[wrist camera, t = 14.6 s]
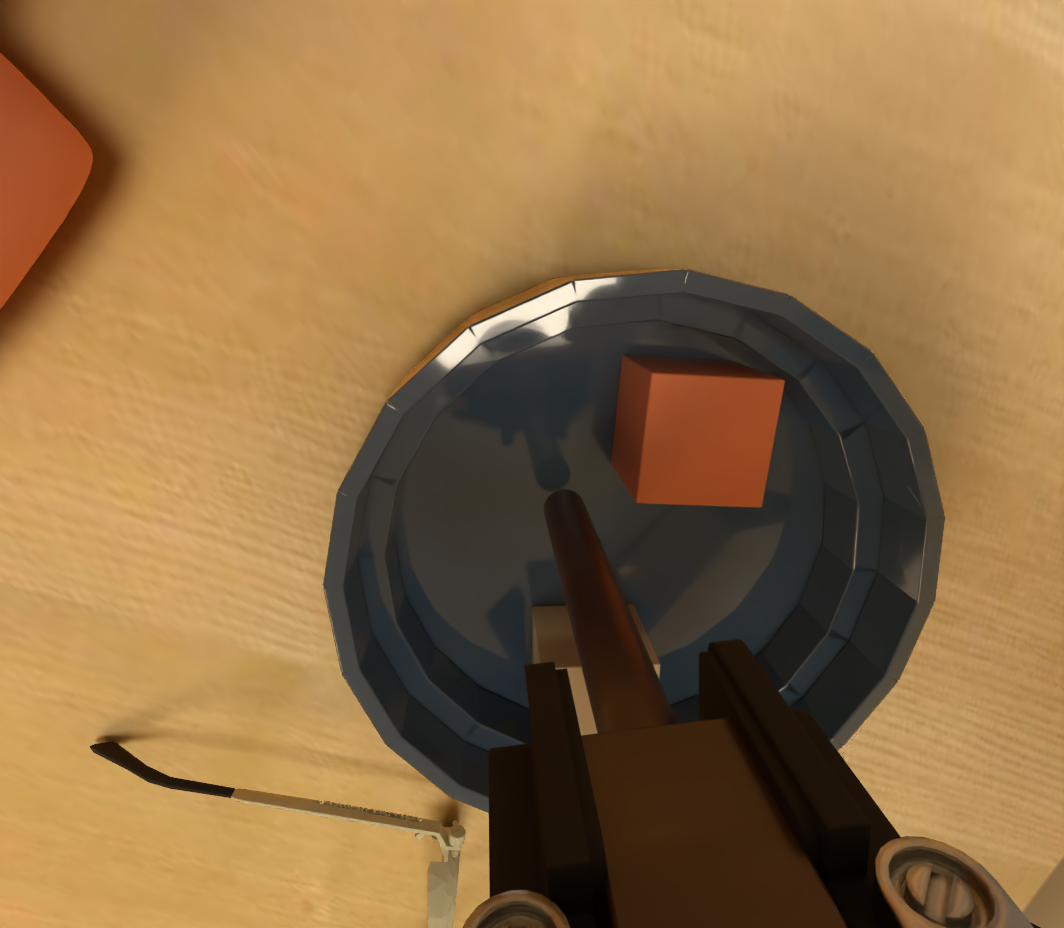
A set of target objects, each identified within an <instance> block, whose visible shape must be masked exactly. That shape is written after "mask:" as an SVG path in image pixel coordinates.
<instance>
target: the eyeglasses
mask: <svg viewBox="0 0 1064 928" xmlns="http://www.w3.org/2000/svg"><path fill="white" fill-rule="evenodd" d="M90 748H91V749H92V751H93V752H94V753H96V754H98V755H100V756H102V757H104V758H106V759H107V760H109V761H111V762H113V763H115V764H117V765H119V766H121V767H123V768H125V769H127V770H129V771H131V772H132V773H134V774H136V775H137V776H139V777H141V778H142V779H144V780H146V781H147V782H150V783H153V784H157V785H160V786H163V787H167V788H171V789H177V790H183V791H190V792H196V793H203V794H209V795H215V796H222V797H228V798H233V799H234V800H236V801H238V802H243V803H249V804H255V805H261V806H266V807H272V808H278V809H283V810H289V811H295V812H300V813H306V814H312V815H318V816H323V817H329V818H335V819H340V820H346V821H352V822H358V823H363V824H369V825H375V826H380V827H386V828H392V829H398V830H403V831H409V832H414V833H415V838H416V839H418V840H420V838H421V837H423V836H425V835H432V837H433V840H434V841H439V843H440V849H441V855H444V859H443V862H430V865H429V869H428V894H427V918H428V928H453V922H454V913H455V904H456V893H457V883H458V871H459V857H460V849H461V845H462V844H463V843H464V839H465V834H466V832H465V829H464V827H463V826H461V825H458V821H456V820H455V821H453V823H452V827H443V826H442V824H441V822H439V821H434V820H428V819H422V818H418V817H412V816H409V815H408V817H407V816H406V815H403V816H401V814H400V815H398V814H394V813H391V812H390V813H387V812H385V811H379V810H376V811H374V810H373V809H371V810H368V809H367V808H365V809H363V808H362V807H358V806H354V807H351V805H349V807H348V806H347V805H348V804H347V805H344V804H343V805H342V804H341V805H340V804H335V803H334V802H332V803H333V804H332V803H330V801H328V802H327V801H326V802H325V801H324V804H319V803H322V801H318V800H311V799H305V798H298V797H292V796H285V795H279V794H272V793H266V792H259V791H253V790H246V789H235V788H230V787H224V786H218V785H213V784H207V783H201V782H196V781H190V780H184V779H179V778H173V777H169V776H167V775H165V774H163V773H161V772H159V771H157V770H155V769H153V768H151V767H148V766H146V765H145V764H144V763H142V762H141V761H140V760H138V759H137V758H136V757H134V756H133V755H132V754H130V753H129V752H128V751H126V750H125V749H124V748H122V747H121V746H120V745H118V744H117V743H115V742H113V741H112V742H106V743H99V744H94V745H92V746H90ZM388 816H389V817H388ZM393 816H394V817H393ZM406 819H407V820H406ZM419 819H422V822H420V821H419ZM412 820H413V821H412ZM419 822H420V823H419Z"/></svg>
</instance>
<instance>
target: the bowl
mask: <svg viewBox="0 0 1064 928" xmlns="http://www.w3.org/2000/svg"><path fill="white" fill-rule="evenodd" d="M623 355H637V356H655V357H672V358H689V359H707V360H724V361H734V362H737V363H740V364H742V365H745V366H748V367H750V368H753V369H756V370H759V371H761V372H764V373H767V374H770V375H772V376H775V377H778V378H781V379H783V380H785V384H784V389H783V395H782V400H781V406H780V411H779V417H778V422H777V427H776V433H775V438H774V444H773V449H772V455H771V460H770V465H769V471H768V476H767V482H766V487H765V493H764V498H763V503H762V507H760V508H758V507H730V506H703V505H676V504H648V503H636V502H635V500H634V499H633V497H632V496H631V494H630V493H629V491H628V490H627V488H626V487H625V485H624V483H623V482H622V480H621V479H620V477H619V476H618V474H617V473H616V471H615V470H614V468H613V467H612V465H611V458H612V448H613V439H614V430H615V420H616V411H617V402H618V392H619V383H620V374H621V364H622V356H623ZM562 489H568V490H572V491H574V492H576V493H578V494H579V495H580V496H581V498H582V499H583V502H584V504H585V506H586V509H587V511H588V513H589V516H590V518H591V520H592V523H593V525H594V527H595V530H596V532H597V534H598V537H599V539H600V541H601V544H602V546H603V548H604V551H605V553H606V555H607V558H608V560H609V563H610V565H611V567H612V570H613V572H614V574H615V577H616V579H617V581H618V584H619V586H620V588H621V591H622V593H623V595H624V598H625V600H626V602H627V604H634V606H635V609H636V611H637V613H638V615H639V618H640V620H641V622H642V624H643V627H644V629H645V631H646V633H647V635H648V638H649V640H650V642H651V644H652V647H653V649H654V651H655V653H656V656H657V658H658V660H659V662H660V677H659V680H660V682H661V685H662V687H663V689H664V692H665V694H666V696H667V699H668V701H669V703H670V706H671V708H672V710H673V713H674V715H675V717H676V720H677V722H678V723H684V722H692V721H699V653H700V652H705V651H708V645H709V643H711V642H718V641H727V640H735V639H741V640H742V641H743V642H744V643H745V644H746V645H747V647H748V648H749V650H750V651H751V653H752V654H753V655H754V657H755V658H756V660H757V661H758V663H759V664H760V665H761V667H762V668H763V670H764V671H765V673H766V674H767V675H768V677H769V678H770V680H771V681H772V683H773V684H774V685H775V687H776V688H777V690H778V691H779V693H780V694H781V696H782V697H783V698H784V700H785V701H786V703H787V704H788V706H789V707H790V708H791V710H798V709H803V710H805V711H807V712H808V713H809V714H810V715H811V716H812V717H813V719H814V720H815V721H816V723H817V724H818V725H819V727H820V728H821V729H822V731H823V732H824V734H825V735H826V736H827V738H828V739H829V740H830V742H831V743H832V744H833V746H834V747H835V749H836V750H837V751H838V750H839V749H840V748H842V746H844V745H845V744H846V743H847V741H848V740H849V739H850V738H851V737H852V736H853V734H854V733H855V732H856V731H857V730H858V728H859V727H860V726H861V725H862V724H863V723H864V721H865V720H866V719H867V718H868V717H869V715H870V714H871V713H872V712H873V711H874V710H875V708H876V707H877V706H878V705H879V704H880V702H881V701H882V700H883V699H884V698H885V697H886V695H887V694H888V693H889V692H890V691H891V689H892V688H893V687H894V686H895V685H896V684H897V682H898V680H899V679H900V677H901V675H902V673H903V671H904V668H905V666H906V664H907V662H908V660H909V657H910V655H911V653H912V651H913V649H914V646H915V644H916V642H917V640H918V638H919V635H920V633H921V631H922V629H923V627H924V624H925V622H926V620H927V618H928V616H929V613H930V611H931V609H932V607H933V605H934V603H933V602H935V597H936V589H937V580H938V572H939V563H940V555H941V546H942V538H943V530H944V521H945V516H944V511H943V506H942V502H941V498H940V493H939V489H938V485H937V480H936V476H935V471H934V467H933V463H932V458H931V454H930V450H929V445H928V441H927V436H926V432H925V430H924V427H923V426H922V424H921V423H920V421H919V420H918V418H917V417H916V415H915V414H914V412H913V411H912V409H911V408H910V406H909V405H908V404H907V402H906V401H905V399H904V398H903V396H902V395H901V393H900V392H899V390H898V389H897V387H896V386H895V384H894V383H893V381H892V380H891V378H890V377H889V375H888V374H887V372H886V371H885V369H884V368H883V367H882V365H881V364H880V362H879V361H878V359H877V358H876V356H875V355H874V353H872V352H871V350H870V349H868V348H867V347H865V346H864V345H862V344H861V343H859V342H858V341H856V340H855V339H854V338H852V337H851V336H849V335H848V334H846V333H845V332H843V331H842V330H840V329H839V328H838V327H836V326H835V325H833V324H832V323H830V322H829V321H827V320H826V319H825V318H823V317H822V316H820V315H819V314H817V313H816V312H814V311H813V310H811V309H810V308H809V307H807V306H806V305H804V304H803V303H801V302H800V301H798V300H797V299H796V298H794V297H793V296H789V295H788V294H785V293H781V292H777V291H773V290H769V289H765V288H761V287H757V286H753V285H749V284H745V283H741V282H737V281H733V280H729V279H725V278H721V277H717V276H713V275H709V274H705V273H701V272H697V271H693V270H689V269H641V270H630V271H620V272H609V273H598V274H588V275H577V276H566V277H557V278H553V279H551V280H549V281H546V282H544V283H542V284H540V285H537V286H535V287H533V288H531V289H528V290H526V291H524V292H522V293H519V294H517V295H515V296H513V297H510V298H508V299H506V300H504V301H502V302H499V303H497V304H495V305H493V306H490V307H488V308H486V309H484V310H481V311H479V312H477V313H475V314H473V315H472V317H469V318H467V319H466V320H465V321H464V322H463V323H462V324H461V325H460V326H459V327H458V328H457V329H455V330H454V331H453V332H452V333H451V334H450V335H449V336H448V337H447V338H446V339H445V340H443V341H442V342H441V343H440V344H439V345H438V346H437V347H436V348H435V349H434V350H433V351H431V352H430V353H429V354H428V355H427V356H426V357H425V358H424V359H423V360H422V361H421V362H420V363H418V364H417V365H416V366H415V367H414V368H413V369H412V370H411V371H410V372H409V373H408V374H407V375H406V376H405V377H404V378H403V380H402V381H401V382H400V384H399V385H398V386H397V388H396V389H395V390H394V392H393V393H392V394H391V396H390V397H389V398H388V400H387V401H386V403H385V404H384V406H383V408H382V410H381V412H380V413H379V415H378V417H377V419H376V421H375V423H374V424H373V426H372V428H371V430H370V432H369V434H368V436H367V437H366V439H365V441H364V443H363V445H362V447H361V448H360V450H359V452H358V454H357V456H356V458H355V460H354V461H353V463H352V465H351V467H350V469H349V471H348V472H347V474H346V476H345V478H344V480H343V482H342V484H341V485H340V487H339V489H338V492H337V495H336V501H335V508H334V515H333V521H332V528H331V535H330V542H329V548H328V555H327V562H326V568H325V575H324V582H323V586H324V588H323V589H324V593H325V598H326V603H327V608H328V612H329V617H330V622H331V626H332V631H333V636H334V641H335V645H336V650H337V655H338V660H339V664H340V669H341V672H342V675H343V677H344V679H345V680H346V682H347V683H348V685H349V687H350V688H351V690H352V691H353V693H354V695H355V696H356V698H357V699H358V701H359V703H360V704H361V706H362V707H363V709H364V711H365V712H366V714H367V715H368V717H369V719H370V720H371V722H372V723H373V725H374V727H375V728H376V730H377V731H378V733H379V735H380V736H381V738H382V739H383V741H384V743H385V744H386V745H387V746H388V747H389V748H390V749H392V750H393V751H394V752H395V753H396V754H398V755H399V756H400V757H401V758H403V759H404V760H405V761H406V762H408V763H409V764H410V765H411V766H412V767H414V768H415V769H416V770H417V771H419V772H420V773H421V774H422V775H423V776H425V777H426V778H427V779H428V780H430V781H431V782H432V783H433V784H435V785H436V786H437V787H438V788H439V789H441V790H442V791H443V792H444V793H446V794H447V795H448V796H449V797H452V798H453V799H456V800H458V801H461V802H463V803H466V804H468V805H470V806H473V807H475V808H478V809H480V810H483V811H485V812H488V813H489V767H488V754H489V748H497V747H505V746H513V745H521V744H529V743H533V742H532V732H531V722H530V713H529V703H528V694H527V684H526V674H525V665H528V664H531V650H532V607H534V606H566V602H565V598H564V594H563V590H562V586H561V581H560V577H559V573H558V569H557V565H556V561H555V557H554V553H553V549H552V545H551V540H550V536H549V532H548V528H547V524H546V520H545V516H544V503H545V501H546V499H547V498H548V497H549V496H550V495H551V494H552V493H554V492H555V491H558V490H562Z"/></svg>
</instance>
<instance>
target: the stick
mask: <svg viewBox="0 0 1064 928" xmlns="http://www.w3.org/2000/svg"><path fill="white" fill-rule="evenodd" d="M544 516H545V520H546V524H547V528H548V532H549V536H550V540H551V545H552V549H553V553H554V557H555V561H556V565H557V569H558V573H559V577H560V581H561V586H562V590H563V594H564V598H565V602H566V606H567V610H568V614H569V618H570V622H571V627H572V631H573V635H574V639H575V643H576V647H577V651H578V655H579V659H580V663H581V668H582V672H583V676H584V680H585V684H586V688H587V692H588V696H589V700H590V705H591V709H592V713H593V717H594V721H595V725H596V729H597V733H596V734H588V735H581V737H582V742H583V746H584V751H585V756H586V761H587V766H588V770H589V775H590V780H591V785H592V789H593V794H594V799H595V804H596V808H597V813H598V818H599V823H600V827H601V832H602V837H603V842H604V848H605V854H606V861H607V869H608V879H606V881H605V883H604V884H605V898H606V912H607V926H608V928H848V926H847V925H846V923H845V921H844V919H843V917H842V915H841V914H840V912H839V910H838V908H837V906H836V905H835V903H834V901H833V899H832V897H831V896H830V894H829V892H828V890H827V888H826V886H825V885H824V883H823V881H822V879H821V877H820V876H819V874H818V872H817V870H816V868H815V867H814V865H813V863H812V861H811V859H810V858H809V856H808V854H807V852H804V851H803V849H802V847H801V846H800V844H799V842H798V840H797V838H796V837H795V835H794V833H793V831H792V829H791V827H790V826H789V824H788V822H787V820H786V818H785V816H784V815H783V813H782V811H781V809H780V807H779V806H778V804H777V802H776V800H775V798H774V796H773V795H772V793H771V791H770V789H769V787H768V785H767V784H766V782H765V780H764V778H763V776H762V774H761V773H760V771H759V769H758V767H757V765H756V764H755V762H754V760H753V758H752V756H751V754H750V753H749V751H748V749H747V747H746V745H745V743H744V742H743V740H742V738H741V736H740V734H739V733H738V731H737V729H736V727H735V725H734V723H733V722H732V720H731V718H730V717H724V718H716V719H708V720H700V721H692V722H684V723H678V722H677V720H676V717H675V715H674V713H673V710H672V708H671V706H670V703H669V701H668V699H667V696H666V694H665V692H664V689H663V687H662V685H661V682H660V680H659V678H658V675H657V673H656V671H655V668H654V666H653V663H652V661H651V659H650V656H649V654H648V652H647V649H646V647H645V645H644V642H643V640H642V638H641V635H640V633H639V631H638V628H637V626H636V624H635V621H634V619H633V617H632V614H631V612H630V609H629V607H628V605H627V602H626V600H625V598H624V595H623V593H622V591H621V588H620V586H619V584H618V581H617V579H616V577H615V574H614V572H613V570H612V567H611V565H610V563H609V560H608V558H607V555H606V553H605V551H604V548H603V546H602V544H601V541H600V539H599V537H598V534H597V532H596V530H595V527H594V525H593V523H592V520H591V518H590V516H589V513H588V511H587V509H586V506H585V504H584V502H583V499H582V498H581V496H580V495H579V494H578V493H576V492H574V491H572V490H568V489H562V490H558V491H555V492H554V493H552V494H551V495H550V496H549V497H548V498H547V499H546V501H545V503H544Z"/></svg>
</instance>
